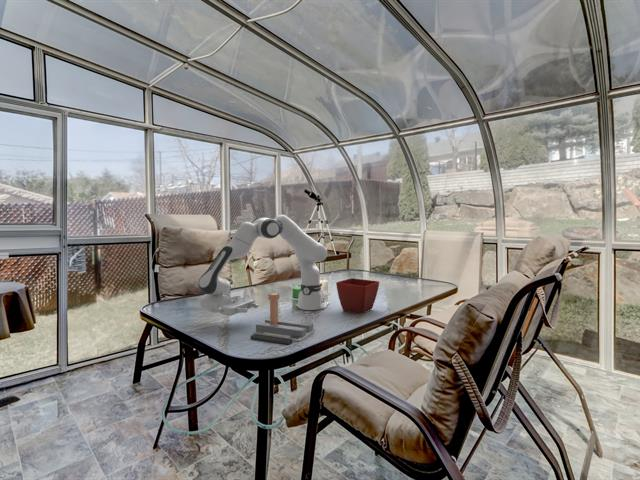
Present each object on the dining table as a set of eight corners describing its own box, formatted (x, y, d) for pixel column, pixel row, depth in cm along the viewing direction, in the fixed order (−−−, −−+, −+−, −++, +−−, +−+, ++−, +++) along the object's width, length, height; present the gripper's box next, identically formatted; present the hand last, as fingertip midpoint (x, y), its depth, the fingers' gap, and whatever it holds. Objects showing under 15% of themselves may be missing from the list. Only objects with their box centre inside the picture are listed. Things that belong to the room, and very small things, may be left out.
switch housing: (271, 324, 174) (271, 316, 174) (315, 330, 165) (315, 322, 165) (253, 334, 159) (253, 325, 159) (300, 341, 150) (300, 332, 150)
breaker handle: (272, 326, 167) (272, 292, 166) (279, 327, 165) (279, 293, 164) (268, 328, 163) (268, 294, 162) (275, 329, 162) (275, 295, 161)
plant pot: (379, 309, 205) (380, 281, 204) (365, 316, 189) (365, 286, 188) (351, 304, 215) (351, 277, 214) (335, 311, 200) (335, 282, 199)
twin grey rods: (254, 336, 156) (254, 332, 156) (293, 342, 149) (293, 338, 149) (249, 339, 153) (249, 335, 153) (289, 345, 145) (289, 341, 145)
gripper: (214, 303, 164) (239, 306, 158) (240, 295, 183) (263, 297, 177) (215, 316, 164) (239, 320, 159) (240, 307, 183) (263, 309, 178)
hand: (252, 308), depth 168 cm, fingers open, 8 cm apart
